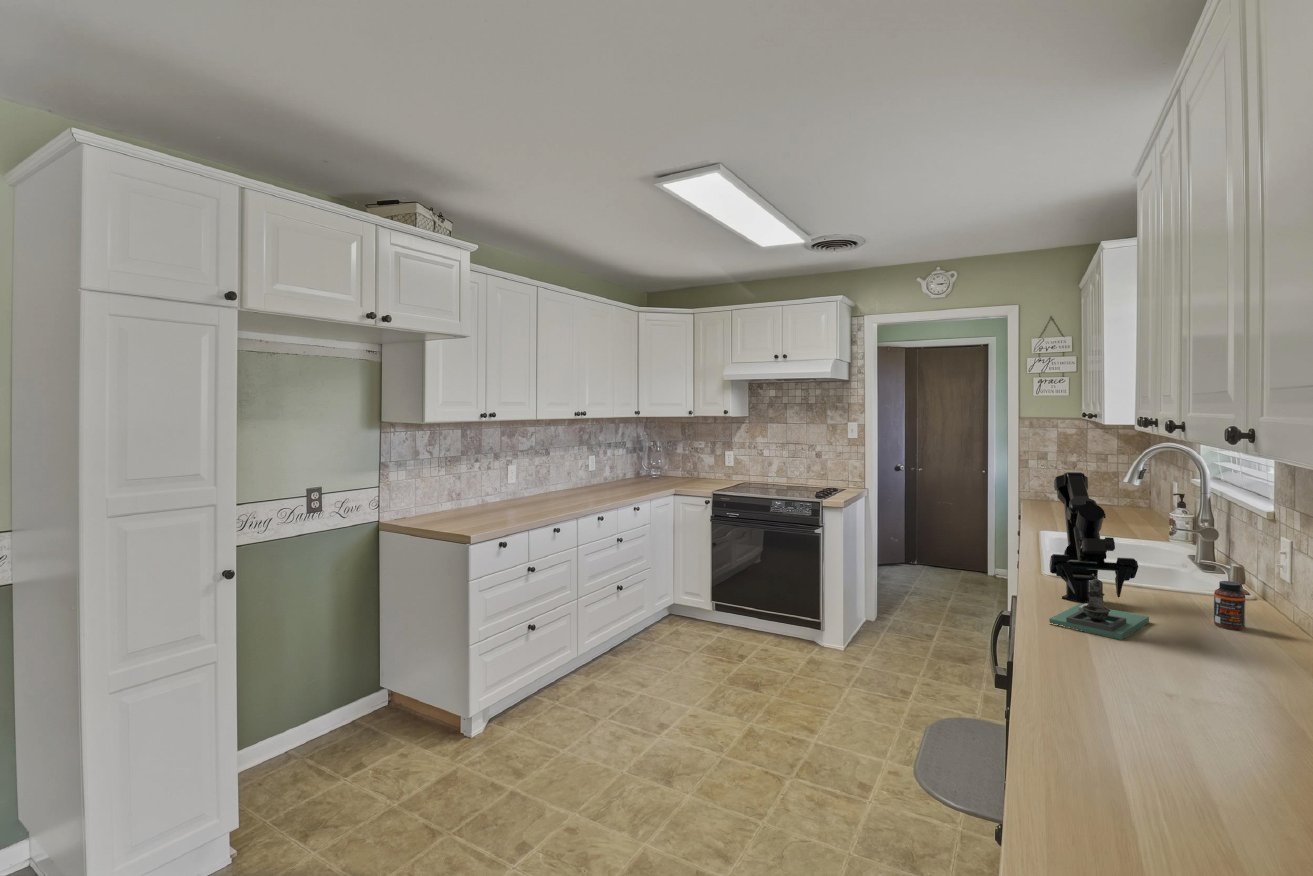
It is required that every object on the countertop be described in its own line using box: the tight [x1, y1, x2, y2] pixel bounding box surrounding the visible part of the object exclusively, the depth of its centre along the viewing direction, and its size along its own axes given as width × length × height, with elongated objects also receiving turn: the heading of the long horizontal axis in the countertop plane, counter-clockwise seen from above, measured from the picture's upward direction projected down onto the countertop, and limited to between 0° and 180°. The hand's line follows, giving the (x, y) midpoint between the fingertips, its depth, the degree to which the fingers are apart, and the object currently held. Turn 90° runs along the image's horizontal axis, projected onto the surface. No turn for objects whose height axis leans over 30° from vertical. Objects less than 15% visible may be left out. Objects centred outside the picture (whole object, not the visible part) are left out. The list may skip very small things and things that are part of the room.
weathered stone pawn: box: [1082, 576, 1110, 625], centre depth 164 cm, size 6×6×12 cm
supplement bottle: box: [1213, 580, 1246, 631], centre depth 162 cm, size 6×6×11 cm
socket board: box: [1048, 602, 1150, 641], centre depth 168 cm, size 20×16×3 cm
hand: (1097, 594), depth 163 cm, fingers open, 9 cm apart
